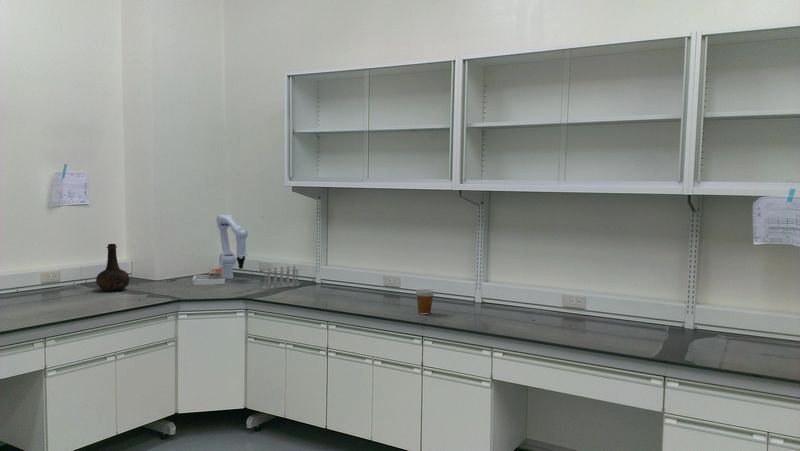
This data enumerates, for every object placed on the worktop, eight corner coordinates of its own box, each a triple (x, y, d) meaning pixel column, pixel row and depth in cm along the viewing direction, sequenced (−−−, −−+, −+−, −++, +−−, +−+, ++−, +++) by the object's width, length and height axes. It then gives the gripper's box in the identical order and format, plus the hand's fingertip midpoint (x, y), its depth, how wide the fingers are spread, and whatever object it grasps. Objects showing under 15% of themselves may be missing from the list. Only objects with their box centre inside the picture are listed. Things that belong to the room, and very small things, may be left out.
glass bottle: (135, 288, 358) (135, 243, 356) (118, 293, 340) (118, 245, 338) (107, 287, 360) (107, 242, 358) (89, 292, 342) (89, 244, 340)
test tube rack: (297, 284, 385) (297, 265, 384) (300, 285, 382) (300, 265, 381) (262, 288, 370) (262, 267, 369) (265, 289, 366) (265, 268, 365)
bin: (194, 280, 392) (194, 275, 391) (225, 280, 397) (225, 274, 397) (192, 285, 374) (192, 279, 374) (224, 284, 379) (224, 279, 379)
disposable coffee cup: (430, 316, 301) (430, 293, 300) (412, 314, 304) (413, 291, 304) (435, 312, 310) (436, 290, 309) (418, 310, 313) (419, 288, 312)
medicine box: (208, 280, 392) (208, 268, 392) (221, 280, 395) (221, 268, 395) (209, 284, 378) (209, 272, 378) (222, 284, 381) (222, 271, 380)
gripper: (247, 248, 384) (247, 269, 385) (247, 246, 398) (247, 266, 399) (236, 248, 382) (236, 269, 383) (236, 246, 396) (236, 266, 397)
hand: (240, 267), depth 391 cm, fingers open, 7 cm apart
